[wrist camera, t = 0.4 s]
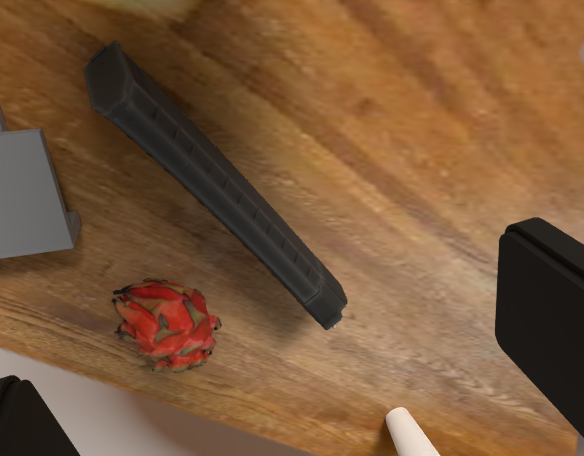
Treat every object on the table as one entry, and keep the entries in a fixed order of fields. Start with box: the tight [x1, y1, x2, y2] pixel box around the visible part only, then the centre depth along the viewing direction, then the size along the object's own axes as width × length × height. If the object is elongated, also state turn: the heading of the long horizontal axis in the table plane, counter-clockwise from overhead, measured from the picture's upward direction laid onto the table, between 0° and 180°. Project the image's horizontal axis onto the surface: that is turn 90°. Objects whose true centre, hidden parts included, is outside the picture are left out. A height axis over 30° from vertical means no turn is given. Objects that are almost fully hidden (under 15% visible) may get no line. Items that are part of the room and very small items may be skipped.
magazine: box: [84, 41, 347, 330], centre depth 40 cm, size 18×3×31 cm
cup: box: [386, 407, 440, 456], centre depth 61 cm, size 5×5×12 cm
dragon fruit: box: [108, 278, 222, 373], centre depth 46 cm, size 8×8×12 cm
